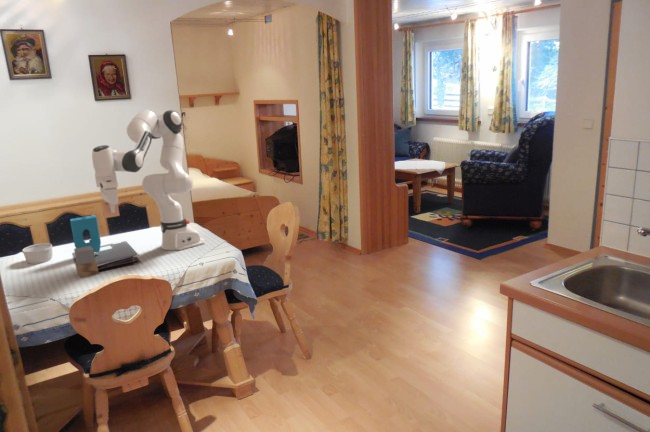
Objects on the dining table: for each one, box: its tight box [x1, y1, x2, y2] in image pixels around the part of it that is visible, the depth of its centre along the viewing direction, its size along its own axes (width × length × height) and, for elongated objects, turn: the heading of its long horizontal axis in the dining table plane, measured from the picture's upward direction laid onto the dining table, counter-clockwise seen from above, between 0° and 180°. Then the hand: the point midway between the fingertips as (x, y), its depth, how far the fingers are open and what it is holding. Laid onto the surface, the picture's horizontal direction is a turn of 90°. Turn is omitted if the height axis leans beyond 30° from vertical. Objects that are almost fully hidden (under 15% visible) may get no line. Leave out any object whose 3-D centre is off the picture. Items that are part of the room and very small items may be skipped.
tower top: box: [73, 246, 96, 265], centre depth 235 cm, size 7×7×6 cm
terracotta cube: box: [100, 201, 121, 219], centre depth 237 cm, size 6×6×6 cm
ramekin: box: [22, 242, 53, 265], centre depth 258 cm, size 13×13×7 cm
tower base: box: [75, 259, 100, 278], centre depth 237 cm, size 8×8×6 cm
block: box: [69, 214, 102, 252], centre depth 260 cm, size 12×5×20 cm, turn 120°
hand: (111, 211), depth 238 cm, fingers closed on terracotta cube, 6 cm apart
